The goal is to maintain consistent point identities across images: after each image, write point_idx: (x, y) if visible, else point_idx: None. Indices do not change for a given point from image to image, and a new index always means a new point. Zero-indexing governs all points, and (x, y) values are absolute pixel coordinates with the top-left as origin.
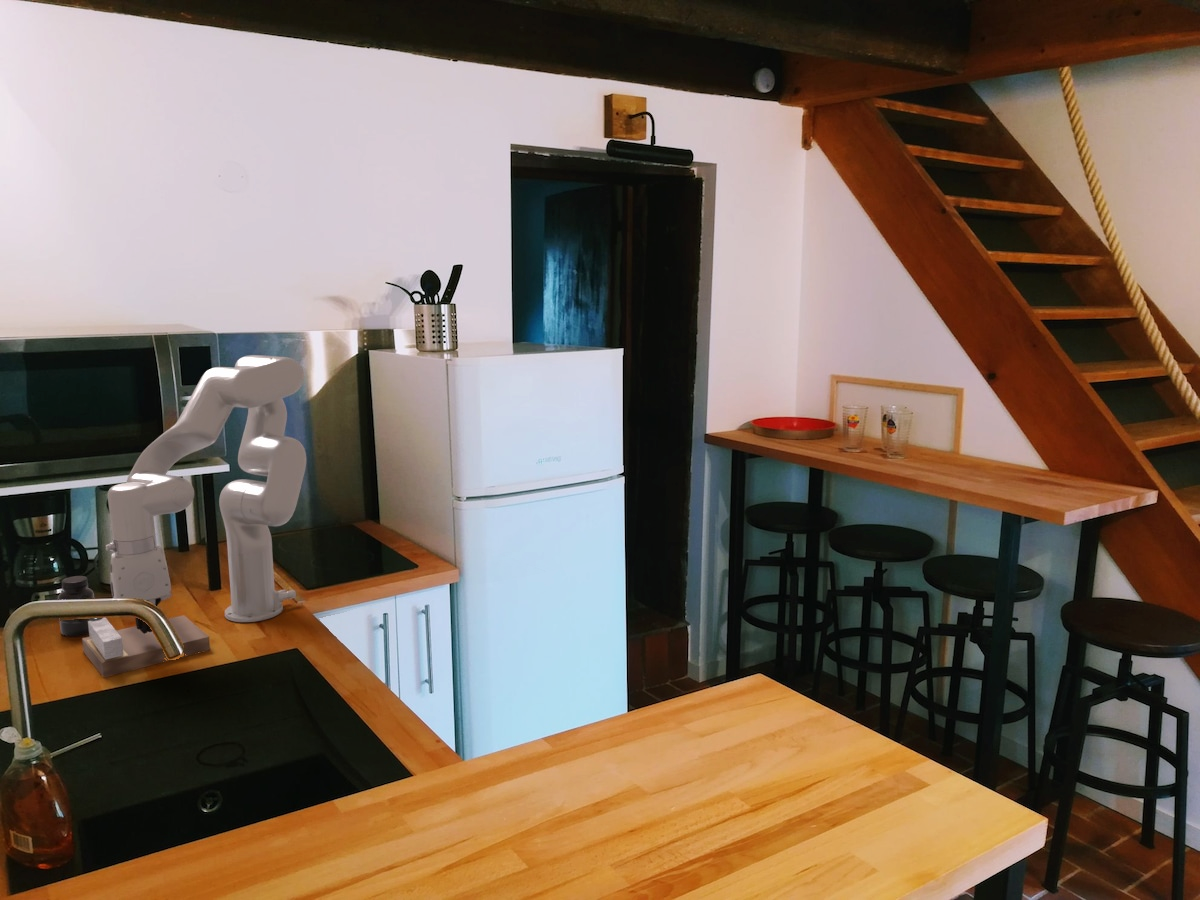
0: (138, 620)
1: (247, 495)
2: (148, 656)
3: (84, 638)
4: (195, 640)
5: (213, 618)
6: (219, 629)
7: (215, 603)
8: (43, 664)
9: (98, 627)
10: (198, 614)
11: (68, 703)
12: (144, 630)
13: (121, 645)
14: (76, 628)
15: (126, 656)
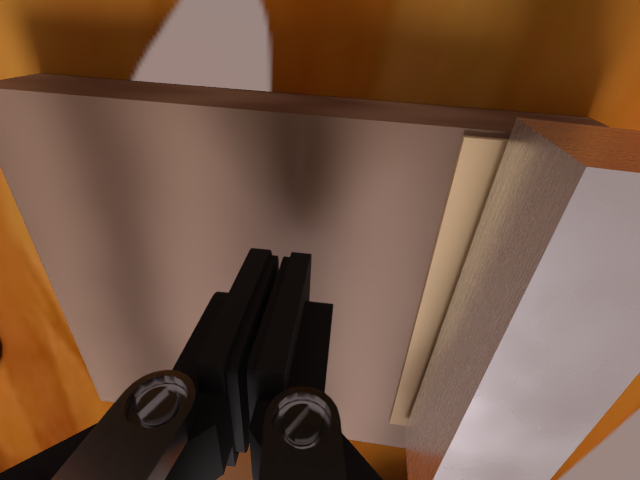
0: (320, 357)
1: None
2: (342, 109)
3: None
4: (48, 90)
5: (41, 360)
6: (14, 270)
7: (40, 433)
8: (614, 408)
9: (526, 463)
10: (86, 408)
11: None
12: (303, 264)
13: (561, 142)
14: None
15: (476, 136)
